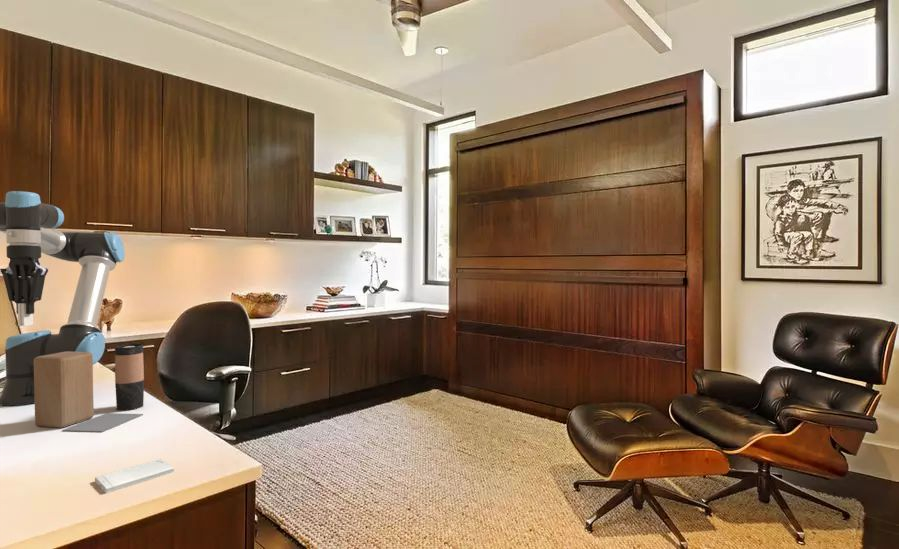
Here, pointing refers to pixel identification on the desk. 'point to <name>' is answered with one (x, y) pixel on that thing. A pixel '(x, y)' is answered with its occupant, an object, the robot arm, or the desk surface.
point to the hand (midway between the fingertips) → (25, 325)
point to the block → (63, 388)
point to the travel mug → (129, 377)
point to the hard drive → (133, 475)
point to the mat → (103, 422)
